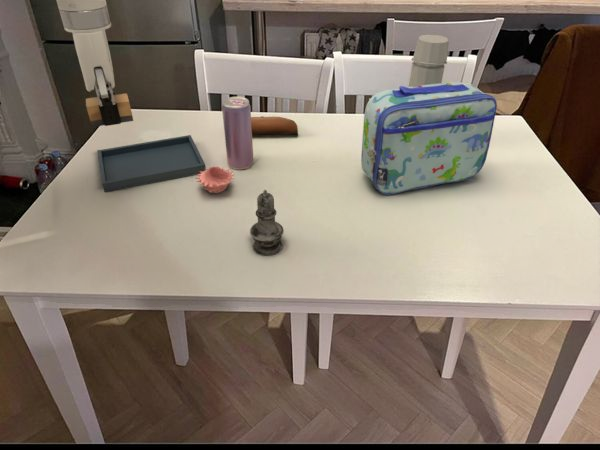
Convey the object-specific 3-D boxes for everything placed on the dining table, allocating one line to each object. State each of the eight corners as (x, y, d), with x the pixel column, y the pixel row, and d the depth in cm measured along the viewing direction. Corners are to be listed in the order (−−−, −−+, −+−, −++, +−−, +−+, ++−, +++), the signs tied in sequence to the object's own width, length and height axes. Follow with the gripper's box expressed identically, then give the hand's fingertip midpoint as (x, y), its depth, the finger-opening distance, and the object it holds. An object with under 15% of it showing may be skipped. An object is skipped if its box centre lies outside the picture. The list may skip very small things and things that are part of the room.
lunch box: (370, 201, 95) (382, 103, 82) (353, 174, 103) (361, 82, 90) (484, 185, 100) (511, 91, 87) (458, 161, 108) (481, 72, 96)
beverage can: (250, 171, 104) (246, 108, 95) (224, 169, 104) (217, 106, 95) (256, 158, 108) (252, 97, 99) (231, 156, 109) (226, 95, 100)
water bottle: (429, 151, 112) (450, 45, 97) (396, 146, 114) (412, 41, 99) (432, 135, 119) (453, 33, 104) (401, 131, 121) (417, 30, 106)
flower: (243, 189, 98) (241, 166, 94) (215, 206, 93) (212, 182, 90) (217, 177, 102) (215, 154, 98) (189, 192, 97) (185, 169, 94)
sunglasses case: (296, 121, 124) (296, 106, 118) (297, 144, 121) (298, 129, 115) (228, 122, 123) (225, 107, 116) (228, 145, 120) (225, 131, 114)
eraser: (92, 127, 87) (86, 106, 84) (91, 118, 90) (85, 98, 88) (133, 121, 89) (129, 101, 87) (131, 112, 92) (126, 93, 90)
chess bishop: (290, 242, 84) (289, 186, 77) (272, 260, 80) (270, 203, 73) (263, 232, 86) (260, 176, 79) (244, 249, 82) (239, 193, 75)
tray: (104, 192, 97) (101, 183, 95) (99, 158, 108) (97, 150, 107) (206, 172, 103) (205, 164, 102) (191, 142, 115) (190, 134, 113)
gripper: (62, 9, 83) (89, 105, 95) (61, 33, 71) (93, 141, 82) (106, 5, 86) (127, 100, 97) (112, 28, 73) (136, 134, 84)
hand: (111, 118), depth 89 cm, fingers closed on eraser, 4 cm apart
